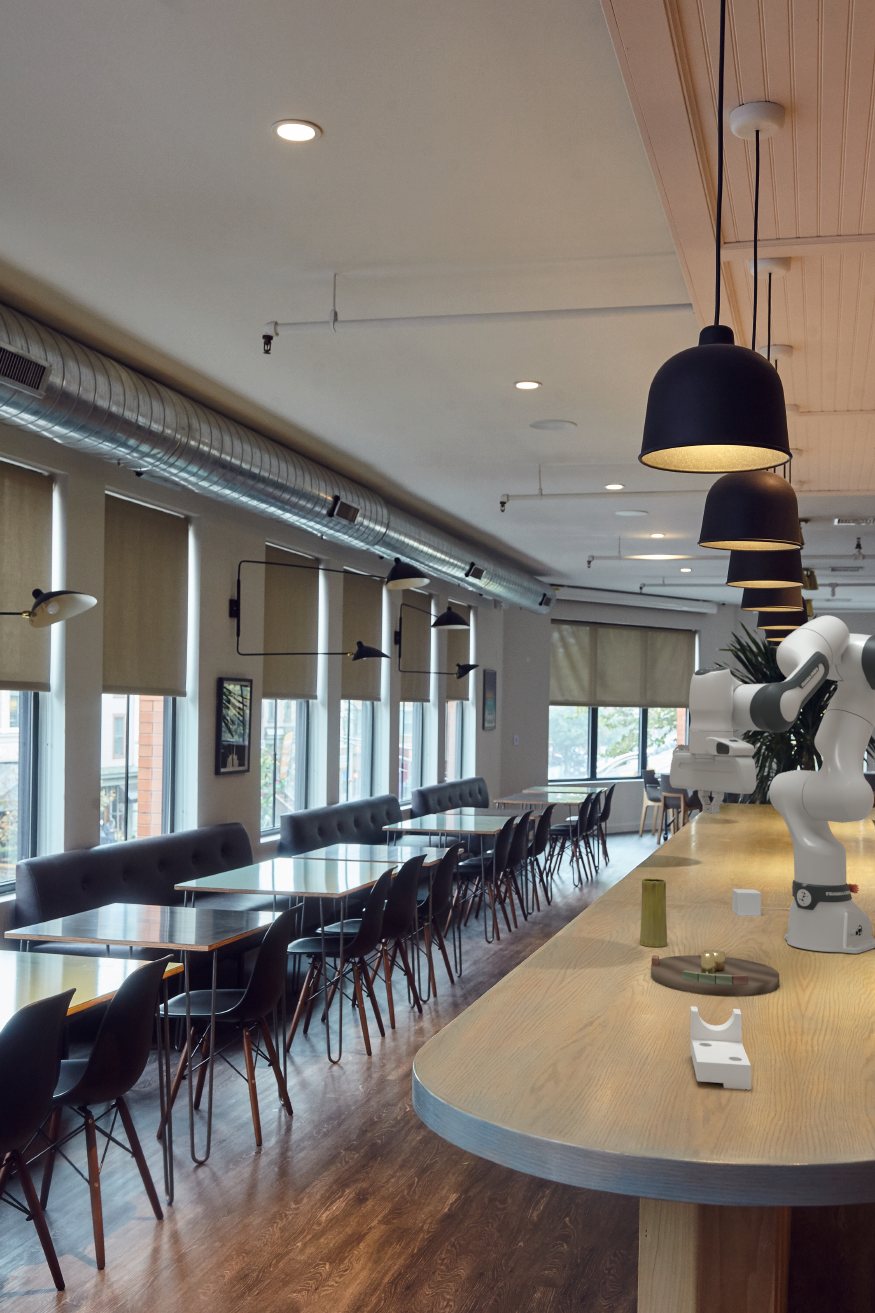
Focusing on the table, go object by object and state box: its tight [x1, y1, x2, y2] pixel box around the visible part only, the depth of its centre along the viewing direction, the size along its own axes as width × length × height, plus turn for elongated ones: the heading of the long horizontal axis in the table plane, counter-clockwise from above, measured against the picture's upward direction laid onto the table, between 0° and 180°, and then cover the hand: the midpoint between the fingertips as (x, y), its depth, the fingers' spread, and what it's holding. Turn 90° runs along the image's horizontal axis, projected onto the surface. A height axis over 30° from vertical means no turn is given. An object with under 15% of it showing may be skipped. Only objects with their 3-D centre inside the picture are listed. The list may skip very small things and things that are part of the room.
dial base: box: [650, 954, 780, 997], centre depth 203 cm, size 24×24×4 cm
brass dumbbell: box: [700, 949, 726, 974], centre depth 199 cm, size 12×4×4 cm, turn 157°
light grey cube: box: [731, 888, 762, 917], centre depth 274 cm, size 6×6×6 cm
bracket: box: [689, 1005, 752, 1091], centre depth 150 cm, size 13×7×8 cm, turn 170°
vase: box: [639, 877, 668, 948], centre depth 235 cm, size 6×6×14 cm
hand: (711, 813), depth 214 cm, fingers closed
